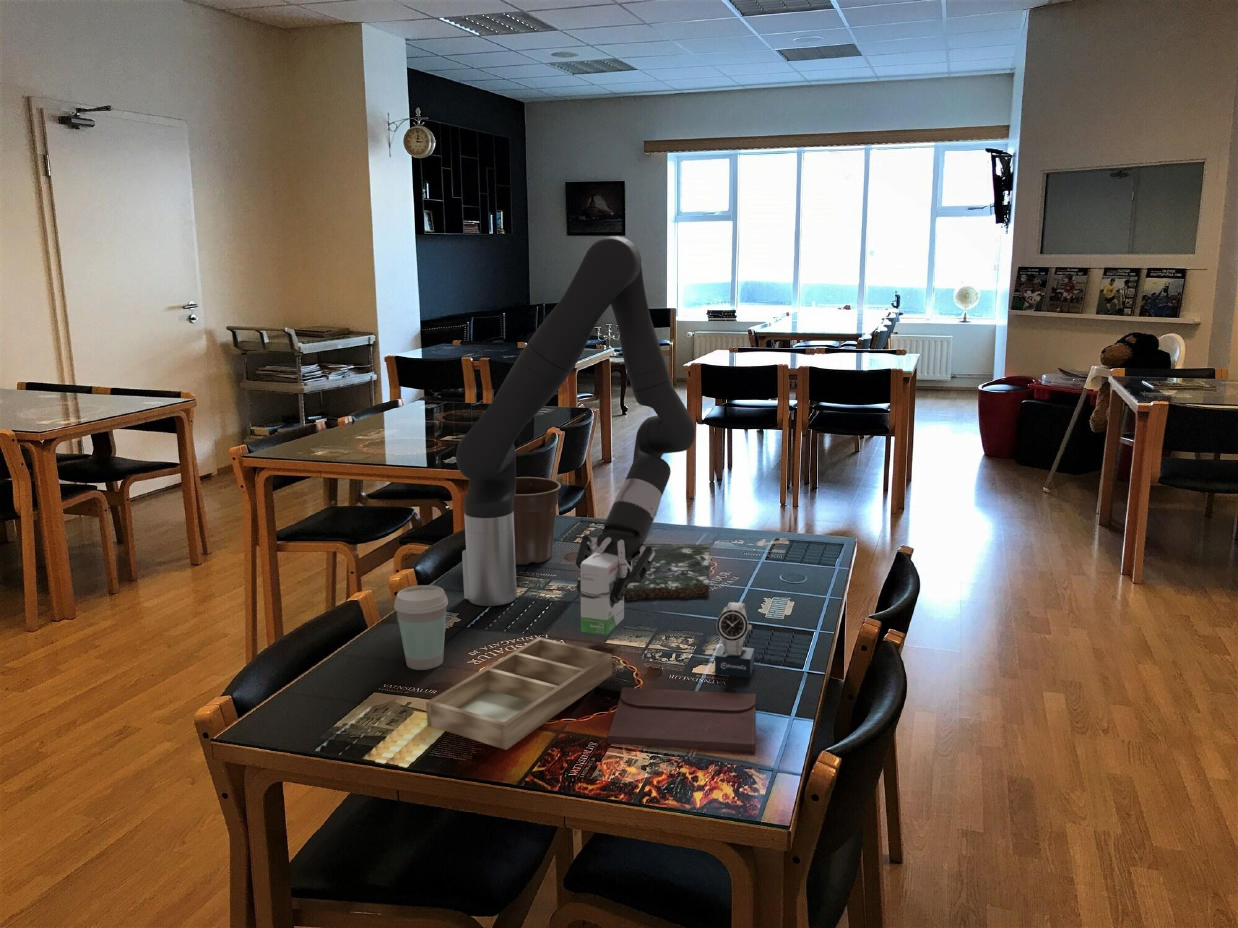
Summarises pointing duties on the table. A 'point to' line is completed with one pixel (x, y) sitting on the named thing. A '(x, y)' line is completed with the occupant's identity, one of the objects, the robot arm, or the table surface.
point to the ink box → (599, 594)
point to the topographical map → (673, 573)
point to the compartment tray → (519, 692)
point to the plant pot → (534, 518)
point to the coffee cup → (422, 625)
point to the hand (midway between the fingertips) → (597, 597)
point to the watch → (733, 643)
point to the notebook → (685, 719)
